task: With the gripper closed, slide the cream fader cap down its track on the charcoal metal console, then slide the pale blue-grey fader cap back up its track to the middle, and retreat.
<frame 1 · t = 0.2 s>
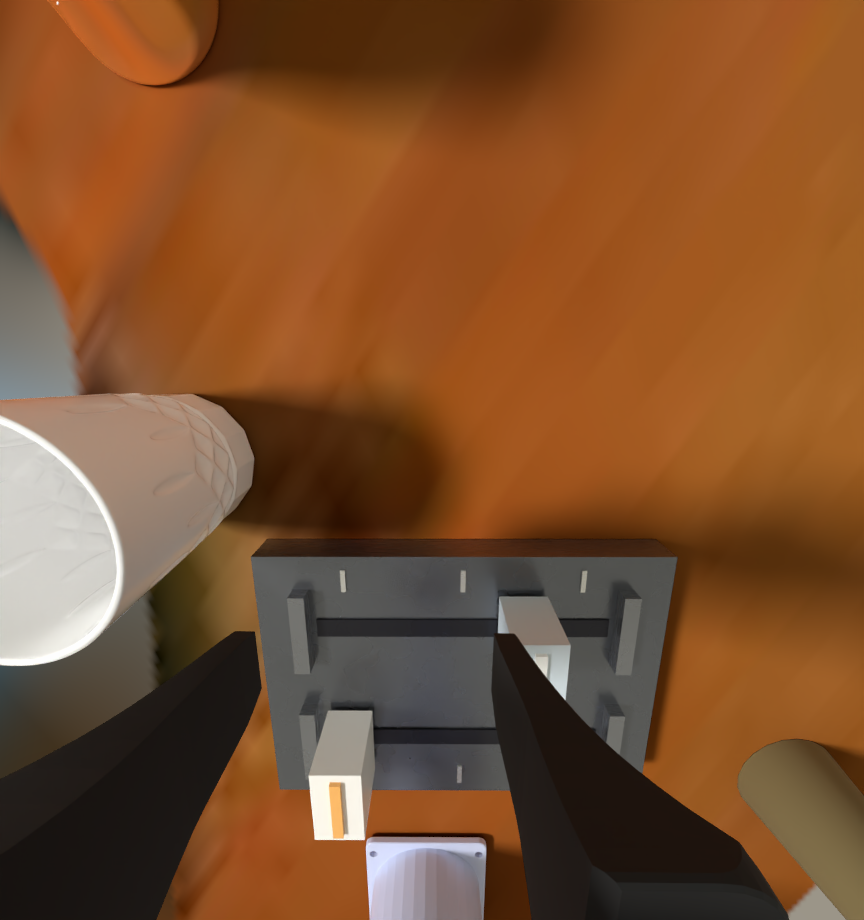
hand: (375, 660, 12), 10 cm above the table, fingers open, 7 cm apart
fader bluegrey: (529, 657, 19), point 4 cm above the table, slide at 9.0 cm
console: (458, 656, 24), on the table
beer glass: (147, 0, 16), on the table
tan bulb-headed cylinder: (782, 773, 26), on the table
fader cream: (344, 773, 21), point 4 cm above the table, slide at 0.0 cm
white cup: (193, 457, 21), on the table
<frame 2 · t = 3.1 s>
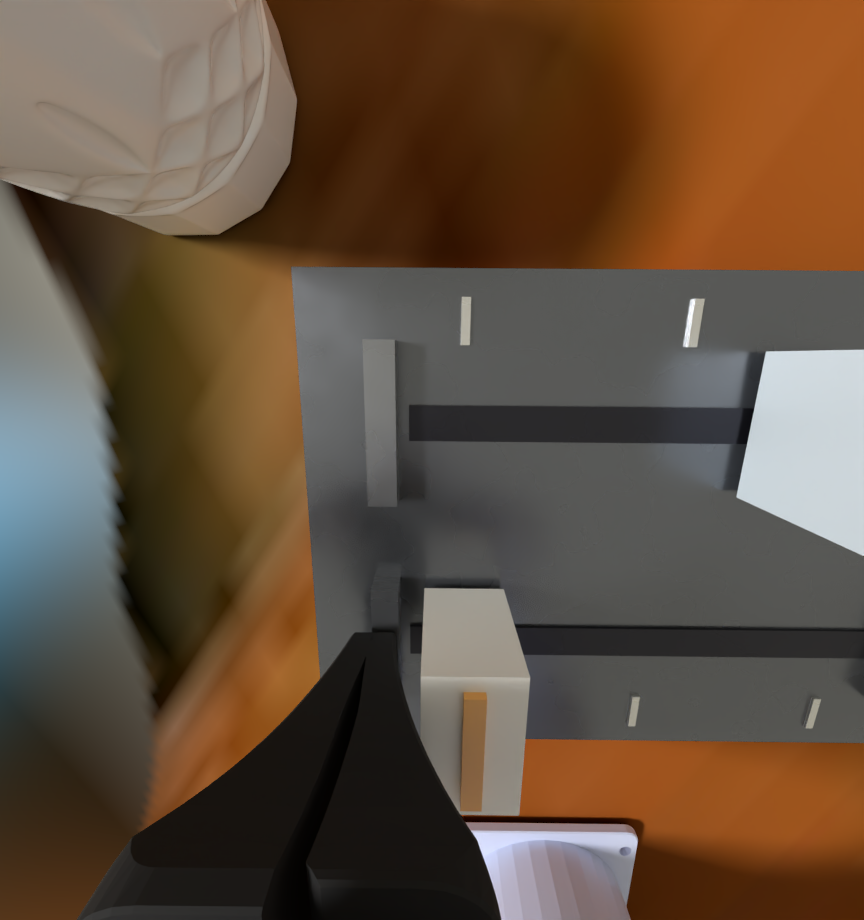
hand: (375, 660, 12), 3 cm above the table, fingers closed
console: (628, 515, 14), on the table
fader cream: (466, 692, 11), point 4 cm above the table, slide at 0.2 cm, touching gripper
white cup: (182, 110, 11), on the table
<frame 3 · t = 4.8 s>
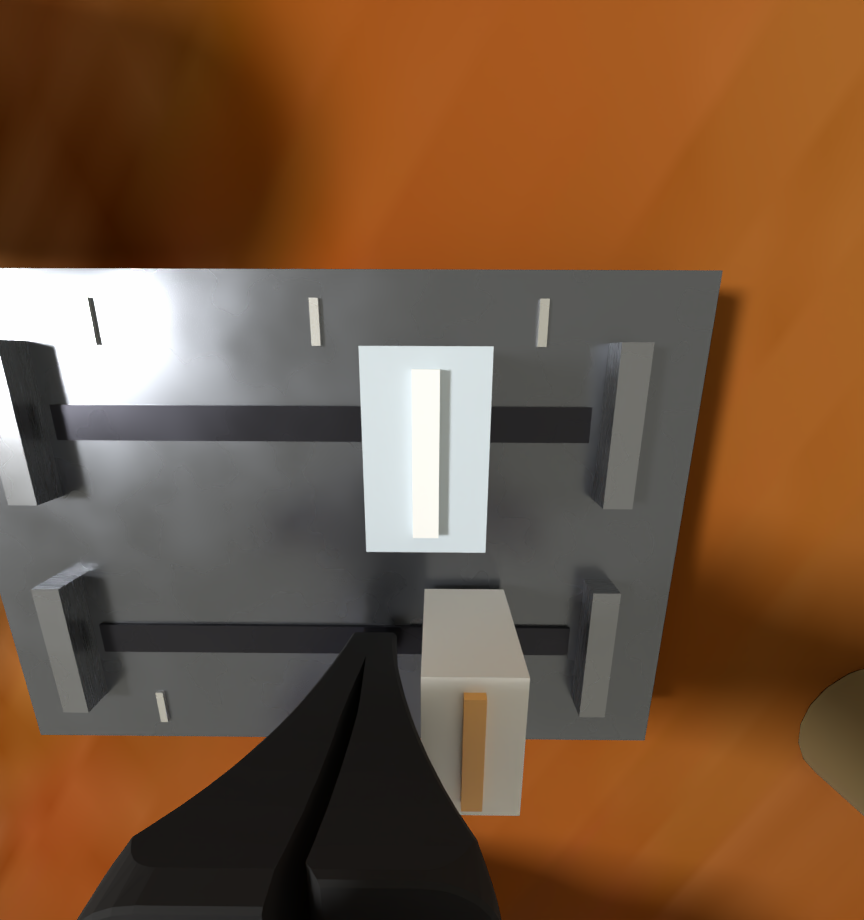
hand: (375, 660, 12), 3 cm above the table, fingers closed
fader bluegrey: (427, 438, 9), point 4 cm above the table, slide at 9.0 cm
console: (343, 513, 14), on the table
fader cream: (467, 692, 11), point 4 cm above the table, slide at 10.1 cm, touching gripper
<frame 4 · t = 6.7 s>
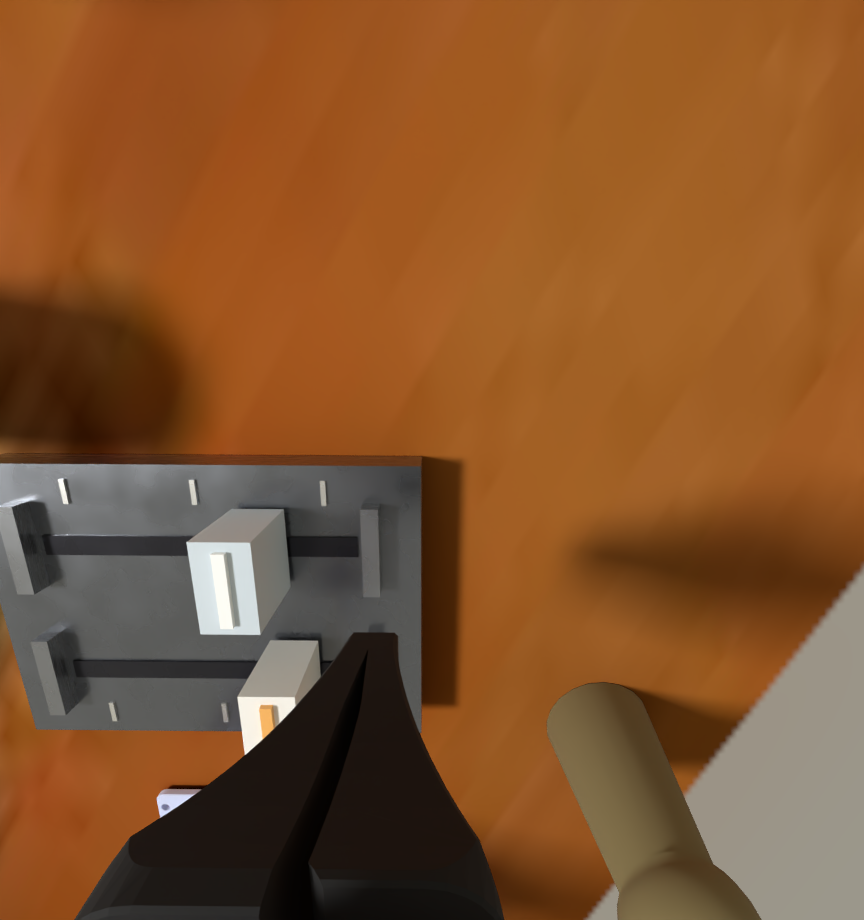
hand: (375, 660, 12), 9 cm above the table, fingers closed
fader bluegrey: (243, 568, 17), point 4 cm above the table, slide at 9.0 cm
console: (230, 587, 22), on the table
tan bulb-headed cylinder: (595, 721, 24), on the table
fader cream: (284, 703, 19), point 4 cm above the table, slide at 10.1 cm
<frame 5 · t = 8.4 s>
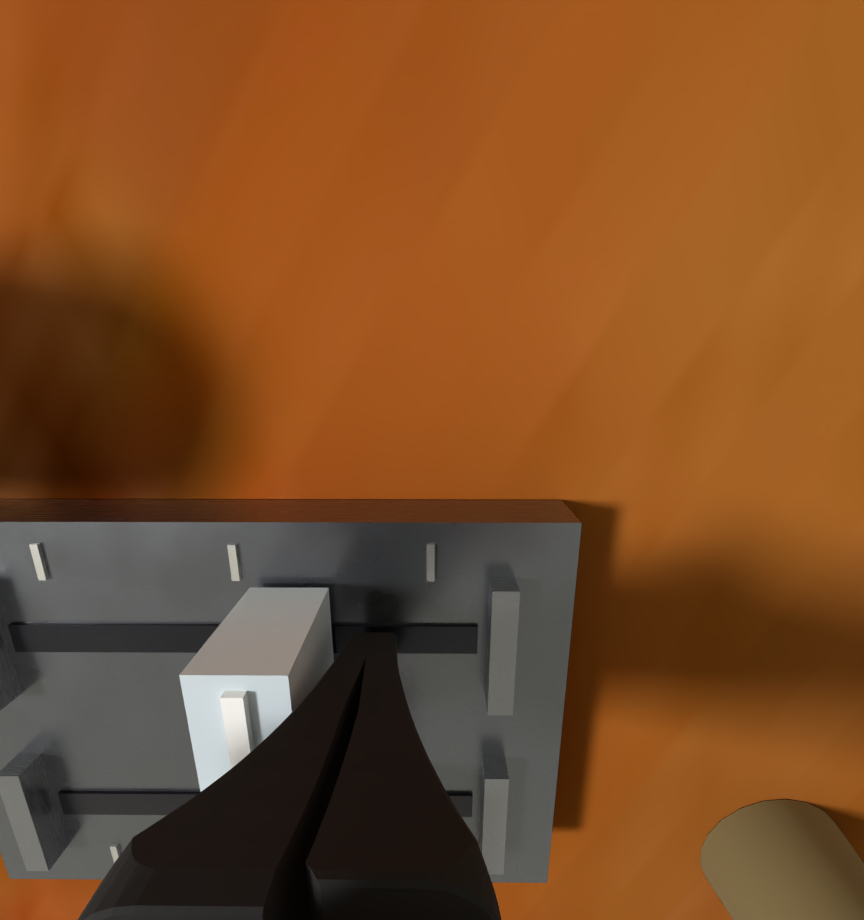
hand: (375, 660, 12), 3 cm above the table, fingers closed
fader bluegrey: (271, 690, 11), point 4 cm above the table, slide at 7.7 cm, touching gripper
console: (278, 680, 16), on the table
tan bulb-headed cylinder: (765, 845, 18), on the table
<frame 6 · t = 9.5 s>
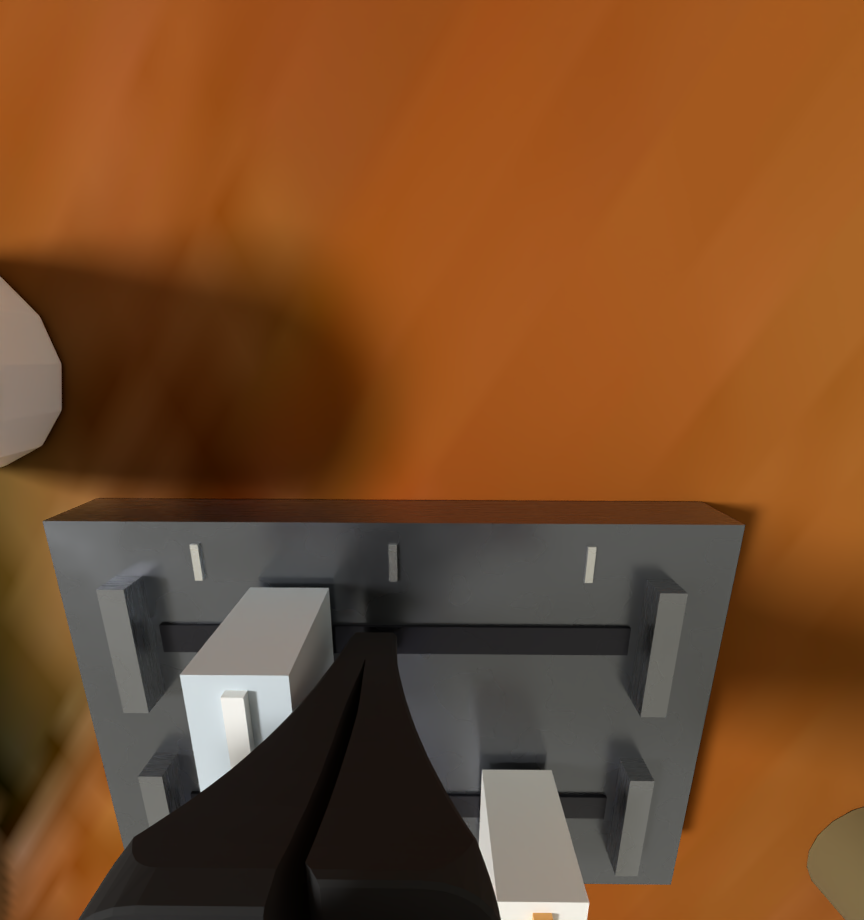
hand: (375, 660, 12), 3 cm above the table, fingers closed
fader bluegrey: (271, 690, 11), point 4 cm above the table, slide at 2.9 cm, touching gripper
console: (401, 680, 16), on the table
fader cream: (524, 878, 13), point 4 cm above the table, slide at 10.1 cm
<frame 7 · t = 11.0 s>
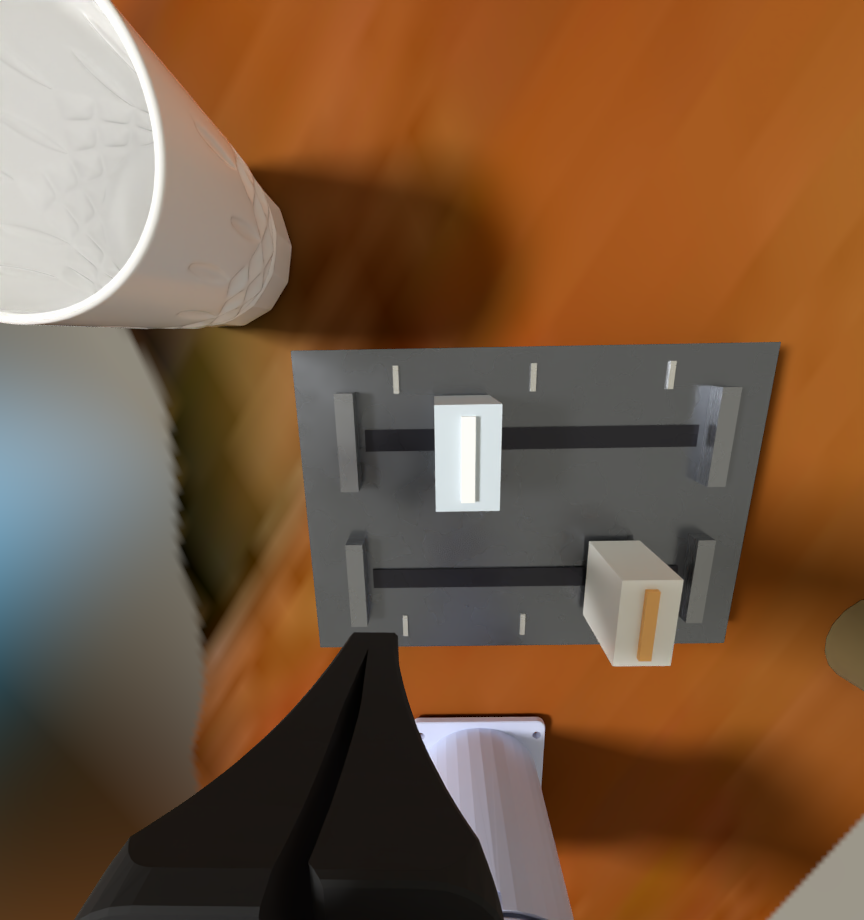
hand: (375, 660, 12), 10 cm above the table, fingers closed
fader bluegrey: (464, 449, 16), point 4 cm above the table, slide at 2.9 cm
console: (518, 496, 21), on the table
fader cream: (628, 600, 18), point 4 cm above the table, slide at 10.1 cm
white cup: (221, 251, 19), on the table
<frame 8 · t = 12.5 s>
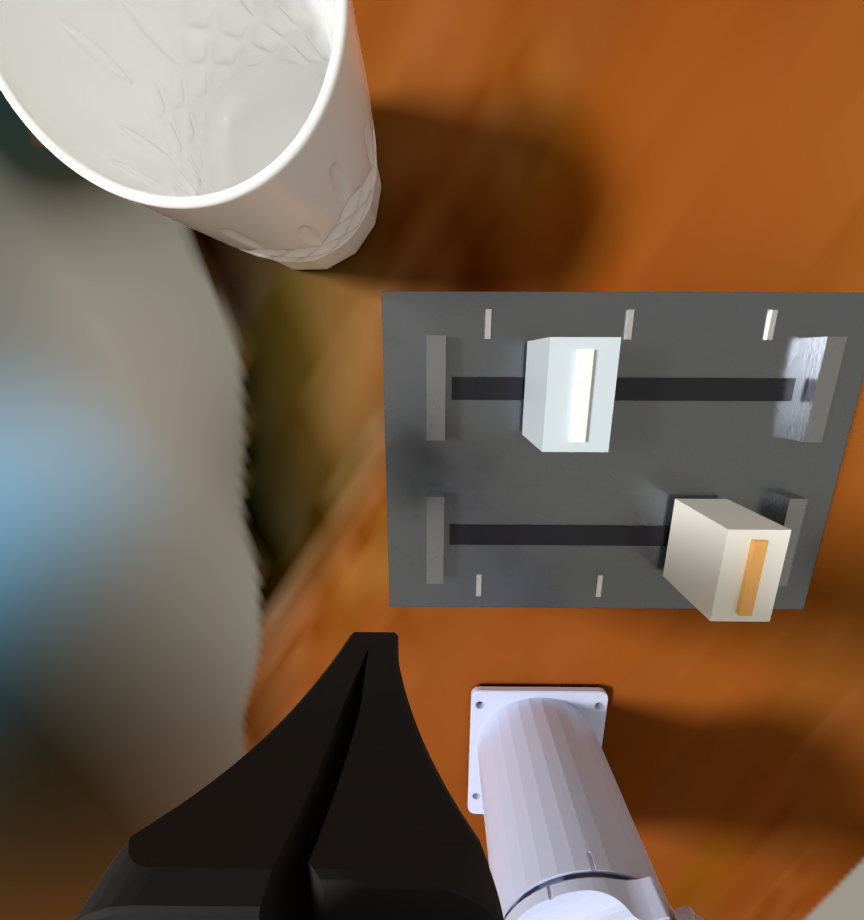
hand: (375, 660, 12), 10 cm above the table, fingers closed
fader bluegrey: (565, 392, 16), point 4 cm above the table, slide at 2.9 cm
console: (595, 455, 21), on the table
fader cream: (720, 556, 17), point 4 cm above the table, slide at 10.1 cm
white cup: (306, 191, 18), on the table
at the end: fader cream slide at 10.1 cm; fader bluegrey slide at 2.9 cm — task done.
